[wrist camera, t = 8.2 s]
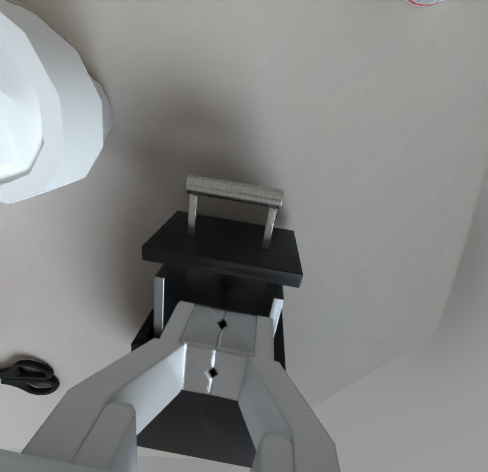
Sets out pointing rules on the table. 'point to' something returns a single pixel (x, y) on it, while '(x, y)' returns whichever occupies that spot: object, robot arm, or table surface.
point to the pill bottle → (422, 2)
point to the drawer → (223, 256)
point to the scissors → (29, 377)
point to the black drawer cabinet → (202, 418)
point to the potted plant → (45, 109)
